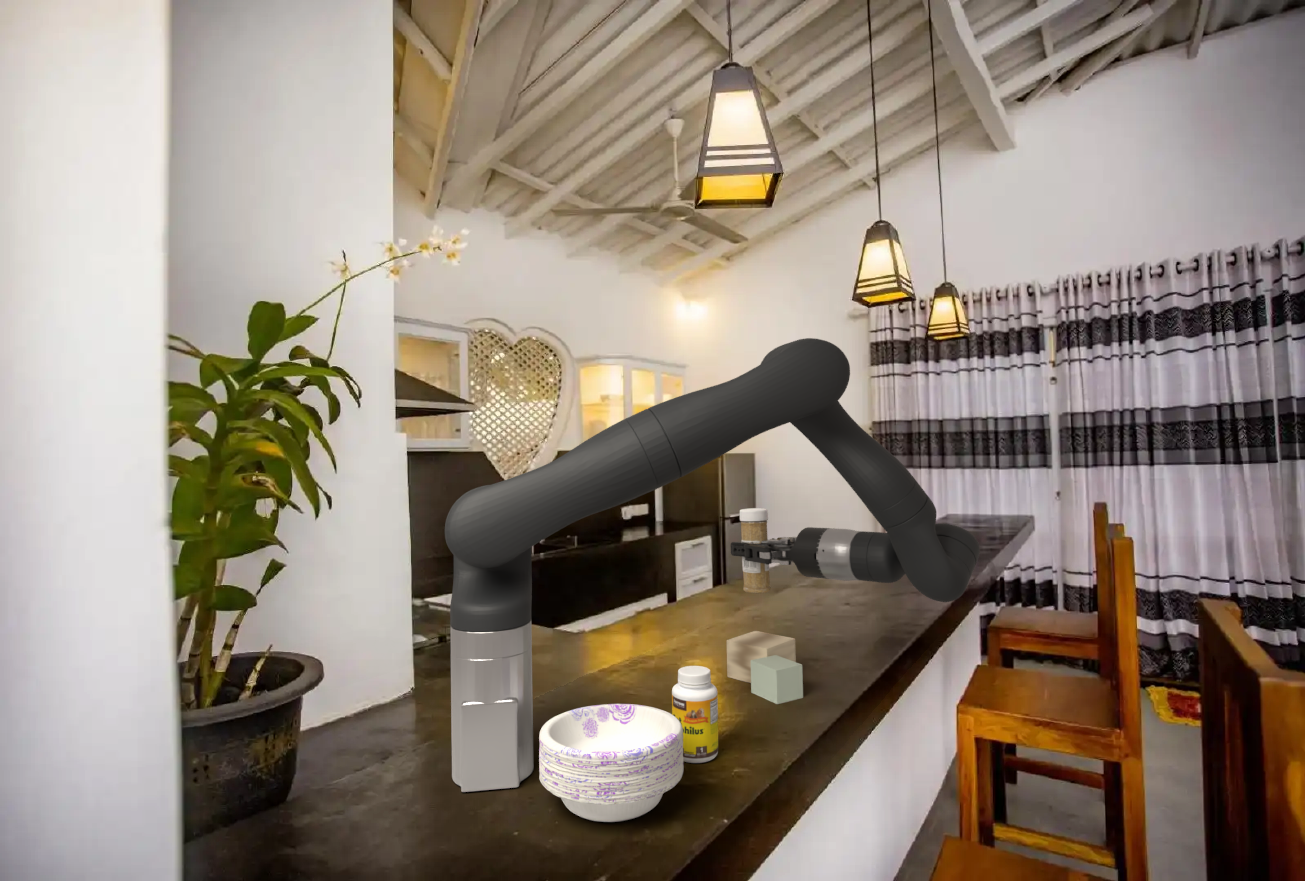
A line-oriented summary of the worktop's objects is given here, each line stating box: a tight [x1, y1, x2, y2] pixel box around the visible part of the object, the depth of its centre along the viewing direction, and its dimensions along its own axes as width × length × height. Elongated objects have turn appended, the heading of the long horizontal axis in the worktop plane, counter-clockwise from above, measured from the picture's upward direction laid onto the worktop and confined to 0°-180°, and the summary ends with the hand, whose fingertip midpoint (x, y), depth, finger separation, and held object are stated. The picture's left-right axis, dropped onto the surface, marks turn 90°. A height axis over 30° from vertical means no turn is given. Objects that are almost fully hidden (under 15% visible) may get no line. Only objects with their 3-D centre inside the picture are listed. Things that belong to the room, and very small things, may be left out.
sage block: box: [750, 655, 804, 705], centre depth 103 cm, size 5×5×6 cm
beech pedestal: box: [726, 630, 797, 684], centre depth 112 cm, size 8×8×6 cm
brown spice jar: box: [739, 507, 772, 594], centre depth 112 cm, size 5×5×13 cm
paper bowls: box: [538, 703, 684, 823], centre depth 72 cm, size 15×15×8 cm
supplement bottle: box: [671, 665, 719, 764], centre depth 83 cm, size 6×6×10 cm
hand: (741, 546), depth 113 cm, fingers closed on brown spice jar, 4 cm apart
